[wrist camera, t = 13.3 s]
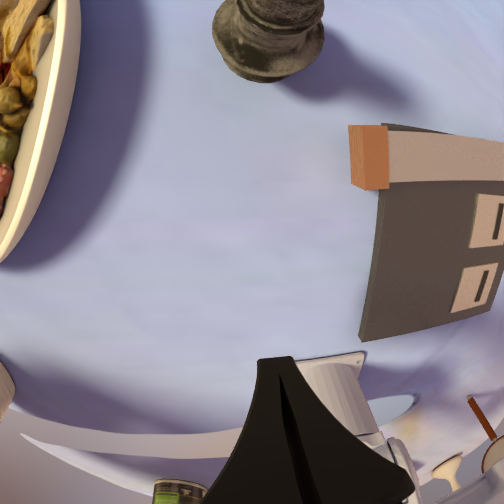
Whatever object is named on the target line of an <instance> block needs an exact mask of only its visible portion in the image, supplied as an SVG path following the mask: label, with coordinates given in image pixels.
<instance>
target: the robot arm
mask: <svg viewBox="0 0 504 504" xmlns="http://www.w3.org/2000/svg"><path fill="white" fill-rule="evenodd" d="M364 358H365V355H364V353H363V352H358V353H352V354H346V355H340V356H334V357H327V358H320V359H313V360H305V361H297V362H295V361H294V359H293V357H291V356H285V357H275V358H264V359H259V360H258V361H257V379H256V385H255V390H254V394H253V399H252V403H251V406H250V409H249V412H248V415H247V418H246V421H245V424H244V427H243V429H242V432H241V434H240V437H239V439H238V441H237V443H236V445H235V447H234V449H233V451H232V453H231V455H230V457H229V459H228V461H227V463H226V464H225V466H224V468H223V469H222V471H221V472H220V474H219V476H218V477H217V479H216V480H215V482H214V483H213V485H212V486H211V487H210V489H209V490H208V492H207V493H206V494H205V496H204V497H203V498H202V499H201V501H200V503H199V504H423V503H422V499H421V496H420V492H419V490H420V485H419V481H418V477H417V474H416V471H415V468H414V465H413V462H412V460H411V458H410V455H409V453H408V451H407V449H406V447H405V445H404V443H403V442H402V441H401V440H399V439H395V438H394V437H391V438H388V439H387V444H388V446H387V444H386V441H385V438H384V436H383V433H382V431H379V429H378V427H377V424H376V422H375V420H374V417H373V415H372V412H371V410H370V408H369V405H368V403H367V400H366V398H365V396H364V393H363V391H362V389H361V386H360V384H359V382H358V378H359V375H360V371H361V368H362V365H363V361H364ZM432 504H504V457H503V458H501V459H500V460H499V461H497V462H496V463H495V464H494V465H492V466H491V467H490V468H489V469H487V470H486V471H485V472H484V473H483V474H482V475H480V476H479V477H477V478H475V479H474V480H473V481H471V482H469V483H468V484H466V485H464V486H463V487H461V488H459V489H458V490H456V491H454V492H452V493H451V494H449V495H447V496H445V497H443V498H442V499H440V500H438V501H436V502H434V503H432Z"/></svg>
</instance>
